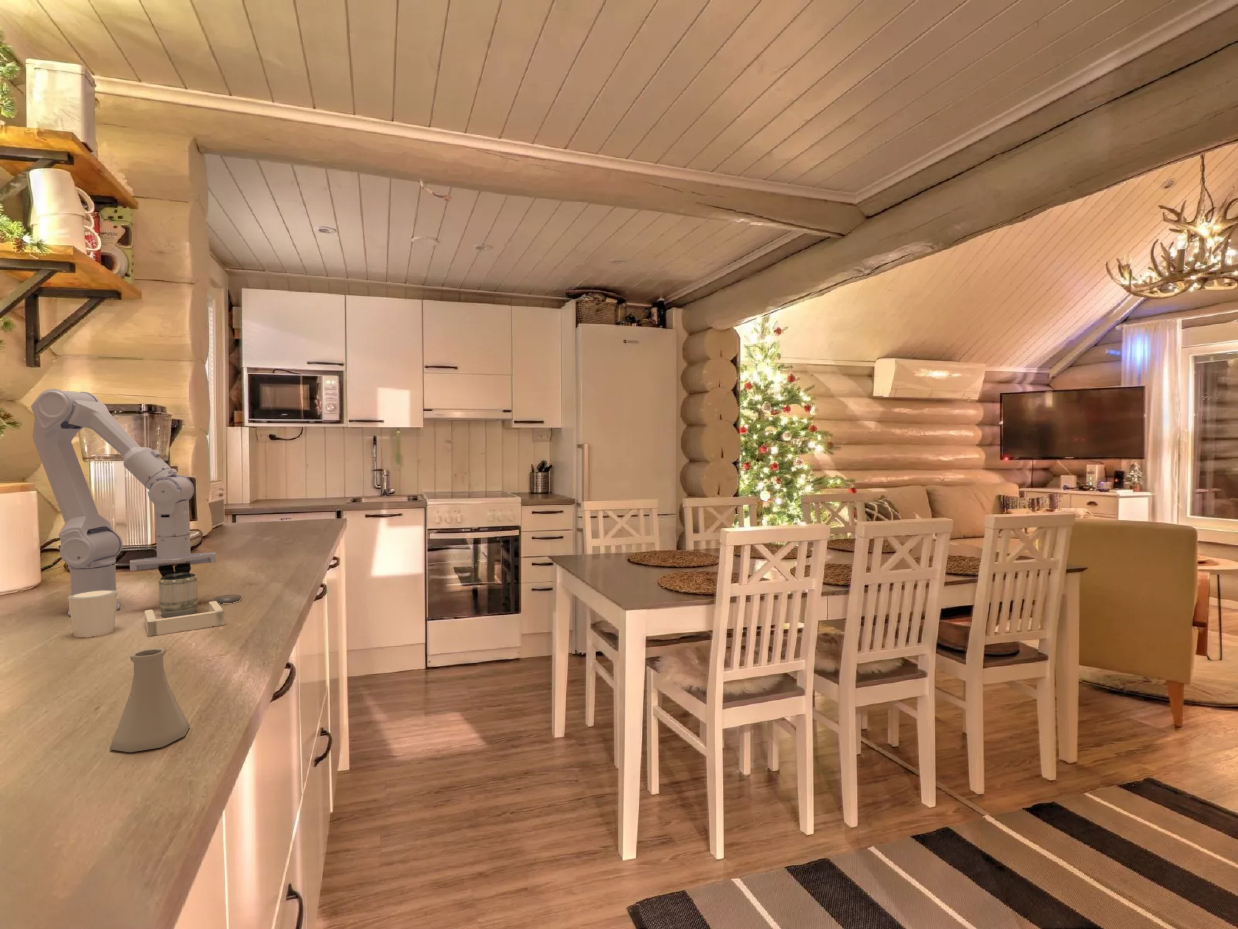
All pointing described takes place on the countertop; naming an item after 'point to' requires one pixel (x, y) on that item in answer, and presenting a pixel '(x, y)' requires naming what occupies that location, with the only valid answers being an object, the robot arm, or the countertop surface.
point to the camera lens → (178, 594)
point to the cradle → (184, 621)
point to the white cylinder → (93, 612)
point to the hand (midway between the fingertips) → (175, 601)
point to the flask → (149, 707)
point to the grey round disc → (227, 599)
